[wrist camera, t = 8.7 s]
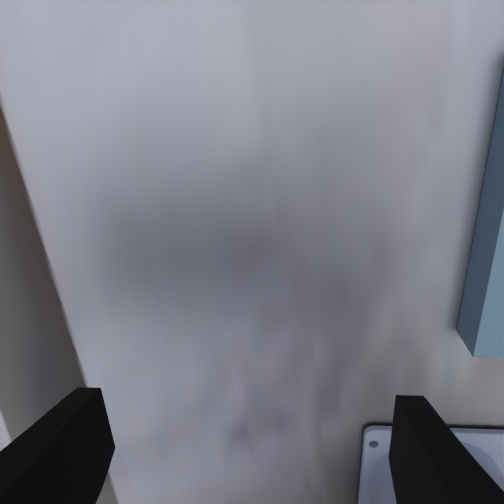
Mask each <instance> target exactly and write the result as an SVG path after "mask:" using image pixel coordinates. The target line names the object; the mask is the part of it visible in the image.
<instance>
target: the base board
mask: <svg viewBox="0 0 504 504" xmlns="http://www.w3.org/2000/svg"><path fill="white" fill-rule="evenodd" d="M457 332H458V334H459V335H460V337H461V339H462V340H463V342H464V343H465V345H466V347H467V348H468V350H469V351H470V353H471V354H472V356H473V357H503V358H504V71H503V77H502V82H501V88H500V93H499V99H498V104H497V110H496V115H495V121H494V126H493V132H492V138H491V143H490V149H489V154H488V160H487V165H486V171H485V176H484V182H483V187H482V193H481V198H480V204H479V209H478V215H477V220H476V226H475V231H474V237H473V242H472V248H471V253H470V259H469V264H468V270H467V275H466V281H465V286H464V292H463V298H462V303H461V309H460V314H459V320H458V325H457Z"/></svg>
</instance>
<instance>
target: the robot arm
mask: <svg viewBox="0 0 504 504" xmlns="http://www.w3.org/2000/svg"><path fill="white" fill-rule="evenodd" d="M371 441H375V442H371ZM114 450H115V444H114V440H113V436H112V432H111V428H110V424H109V420H108V416H107V412H106V408H105V404H104V399H103V395H102V391H101V388H81V387H80V388H79V387H78V388H76V389H75V390H74V391H73V392H71V393H70V394H69V395H68V396H66V397H65V398H64V399H63V400H61V401H60V402H59V403H58V404H57V405H56V406H54V407H53V408H52V409H51V410H49V411H48V412H47V413H46V414H45V415H44V416H42V417H41V418H40V419H39V420H38V421H37V422H35V423H34V424H33V425H32V426H31V427H29V428H28V429H27V430H26V431H25V432H23V433H22V434H21V435H20V436H19V437H17V438H16V439H15V440H14V441H12V442H11V443H10V444H9V445H8V446H6V447H5V448H4V449H3V450H2V451H0V504H95V503H96V501H97V499H98V497H99V494H100V492H101V490H102V487H103V484H104V481H105V478H106V475H107V472H108V469H109V466H110V463H111V460H112V456H113V453H114ZM358 504H504V430H498V429H466V428H449V427H448V426H447V425H446V423H445V422H444V421H443V420H442V418H441V417H440V416H439V415H438V413H437V412H436V411H435V409H434V408H433V407H432V406H431V404H430V403H429V402H428V401H427V399H426V398H425V397H424V396H406V395H396V399H395V407H394V416H393V424H392V426H369V427H367V428H366V429H365V430H364V436H363V448H362V459H361V471H360V483H359V495H358Z"/></svg>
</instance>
